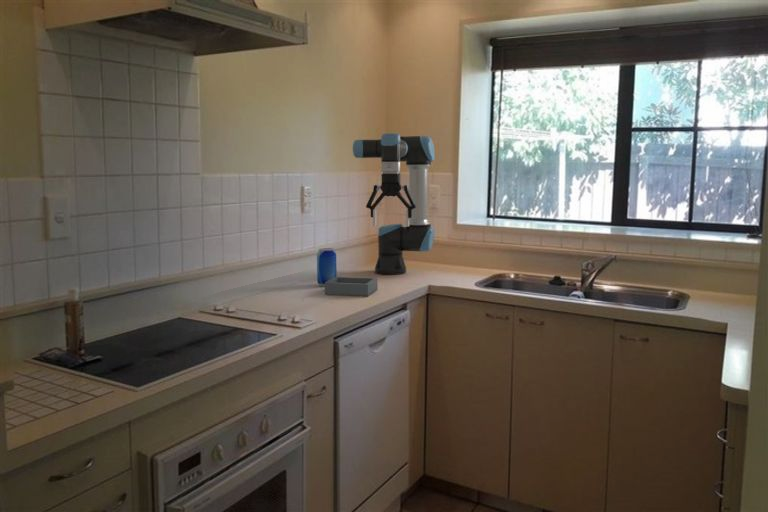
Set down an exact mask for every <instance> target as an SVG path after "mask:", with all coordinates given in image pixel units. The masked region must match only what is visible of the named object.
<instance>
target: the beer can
mask: <svg viewBox="0 0 768 512" xmlns="http://www.w3.org/2000/svg"><path fill="white" fill-rule="evenodd" d="M335 251H336V250H335V248H333V247H323V248H322V247H321V248H318V252H317V253H316V271H317V272H316V275H317V279H316V281H317V284H318V286H320V287H322V288H325V282H327V281H329V280H331V279H333V278H334V277H338V275H337V272H338V271H337V253H336V252H335Z"/></svg>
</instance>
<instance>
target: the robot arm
mask: <svg viewBox="0 0 768 512" xmlns="http://www.w3.org/2000/svg"><path fill="white" fill-rule="evenodd" d="M435 153H436V152H435V145H434V142H433V140H432V138H431V137H430V136H427V135H420V136H419V135H412V136H410V135H409V136H402V135H400V134H399V133H396V132H394V133H390V132H389V133H382V134H381V139H356V140H355V139H354V141H353V143H352V154H353V156H354V158H356V159H357V158H358V159H375V158H376V159H377V158H378V159H380V160H381V161H380V162H381V163H380V164H381V167H380V168H381V171H380V172H381V183H380V185H378V184H374V185H373V188H372V189H373V190H372V192H371V194H370V197H369V199H368V201H367V203H366V206H365V208H367V209H369V210H370V218H372V226H373V227H375V226H376V227H377V225H378V224H377V223H378V221H377V220H378V219H377V217H378V216H377V215H378V214H377V209H376V208H377V206H378V205H379V204H380V203H381V201H382V200H383V199H384V198H385V197H397V198H398V199H399V200H400V202H401V203H402V204H403V205H404V207H406V210H405V226H404V225H403V223H392V224H384V225H380V227H378V232H377V233H378V234H377V238H378V241H377V243H378V244H377V245H378V255H377V256H378V257H377V260H376V263H375V266H374V273H376V274H380V275H400V274H401V275H402V274H405V273H407V267H406V262H405V260H404V257H403V256H404V255H403V252H419V253H422V252H425V253H426V252H429V251H430V250H431V249H432V247H433V244H434V238H435V228H434V227H433V226H432V225H431V224H432V223H431V222H430V221H429V220H428V187H429V186H428V184H429V183H428V182H429V180H428V175H429V174H428V169H429V168H430V167H431V165H432V162H434V161H435V155H436V154H435ZM401 162H404V163H405V166H406V167H407V168H408V169H409V170H408V173H409V176H408V182H409V183H408V184H409V185H408V184H405V185H402V184H401V174H400V172H401ZM380 190H381V193H380V195H379V196H378V197H377V199H376V200H375V201H374V199H375V198H376V195H377V194H378V192H379V191H380ZM401 190H403V192H404V193H405V196H406V198H407V199H408V200H407V199H406V198H404V197H405V196H403V195H402V193H401ZM373 202H374V203H373ZM372 203H373V204H372Z"/></svg>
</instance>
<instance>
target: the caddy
mask: <svg viewBox="0 0 768 512" xmlns="http://www.w3.org/2000/svg"><path fill="white" fill-rule="evenodd" d="M376 291H378V278H377V277H361V276H360V277H359V276H358V277H355V276H353V277H352V276H337V277H334V278H333V279H331V280H329V281H327V282H325V287H324V295H325V296H341V297H342V296H345V297H361V296H362V297H366V298H369V297H370V296H371V295H373V293H375V292H376ZM362 297H361V298H362Z"/></svg>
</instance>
